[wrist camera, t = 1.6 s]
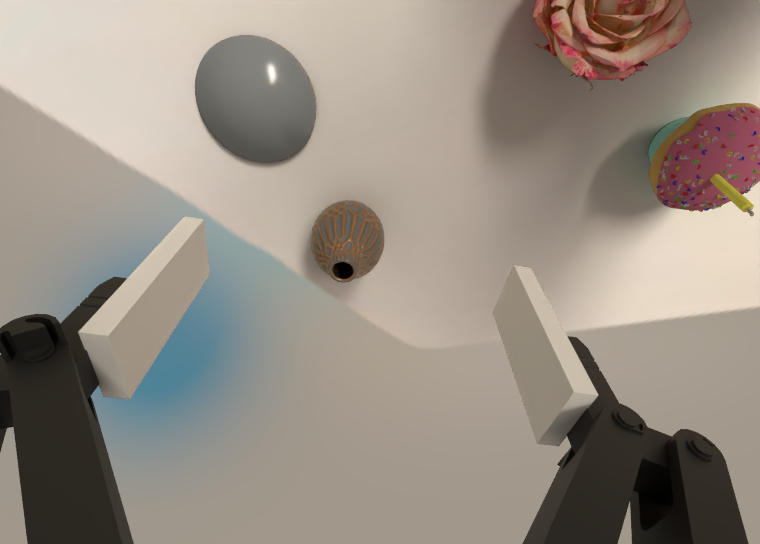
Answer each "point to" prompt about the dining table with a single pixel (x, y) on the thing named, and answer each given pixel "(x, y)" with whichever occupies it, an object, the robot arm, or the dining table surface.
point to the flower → (610, 33)
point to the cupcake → (707, 158)
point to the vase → (347, 240)
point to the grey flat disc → (255, 98)
